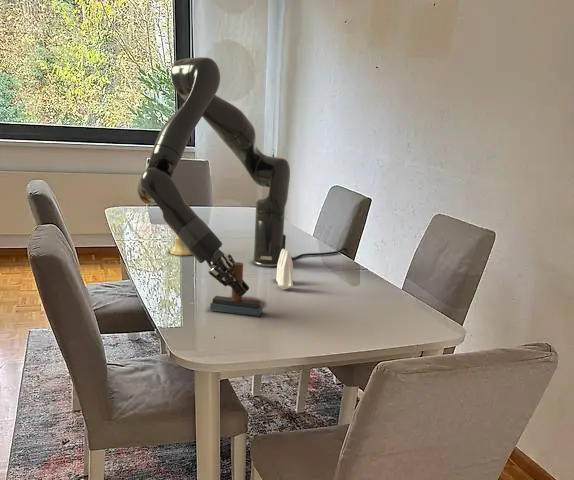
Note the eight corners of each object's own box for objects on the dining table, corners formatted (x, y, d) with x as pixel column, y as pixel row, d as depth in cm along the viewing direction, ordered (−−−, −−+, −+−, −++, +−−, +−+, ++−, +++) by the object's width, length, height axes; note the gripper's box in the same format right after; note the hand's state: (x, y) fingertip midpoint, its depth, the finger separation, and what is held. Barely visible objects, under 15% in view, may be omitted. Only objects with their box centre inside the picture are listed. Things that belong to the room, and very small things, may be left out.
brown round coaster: (250, 296, 176) (250, 295, 176) (269, 307, 169) (269, 306, 169) (218, 300, 171) (218, 300, 171) (237, 312, 163) (237, 311, 163)
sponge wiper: (214, 306, 165) (214, 259, 160) (262, 312, 164) (265, 264, 158) (210, 311, 162) (210, 262, 157) (259, 317, 161) (261, 268, 155)
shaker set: (292, 292, 181) (295, 254, 177) (278, 291, 181) (280, 253, 176) (289, 280, 192) (291, 244, 187) (275, 279, 192) (277, 243, 187)
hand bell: (166, 254, 210) (165, 205, 203) (174, 248, 218) (174, 201, 211) (190, 256, 209) (190, 207, 202) (198, 251, 217) (198, 203, 210)
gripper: (200, 235, 149) (249, 291, 153) (217, 224, 162) (261, 276, 165) (179, 255, 152) (227, 309, 156) (197, 243, 165) (241, 293, 168)
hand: (244, 292), depth 160 cm, fingers closed on sponge wiper, 2 cm apart
